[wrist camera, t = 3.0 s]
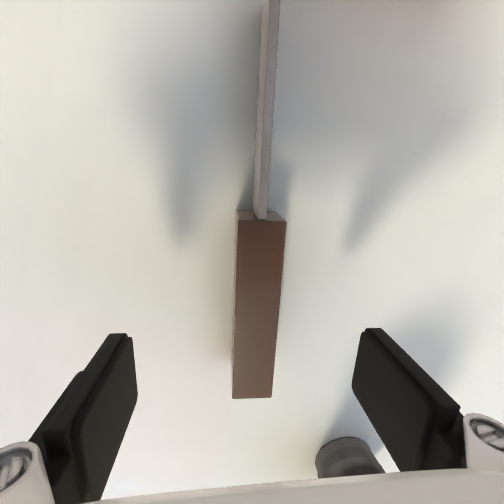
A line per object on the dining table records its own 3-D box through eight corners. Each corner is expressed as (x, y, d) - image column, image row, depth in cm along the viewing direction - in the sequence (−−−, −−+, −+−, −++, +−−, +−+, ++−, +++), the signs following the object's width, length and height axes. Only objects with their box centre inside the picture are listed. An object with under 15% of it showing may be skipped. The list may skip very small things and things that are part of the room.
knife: (290, 12, 12) (309, -36, 9) (264, 361, 18) (271, 398, 15) (241, 7, 12) (246, -44, 9) (231, 361, 17) (232, 399, 15)
